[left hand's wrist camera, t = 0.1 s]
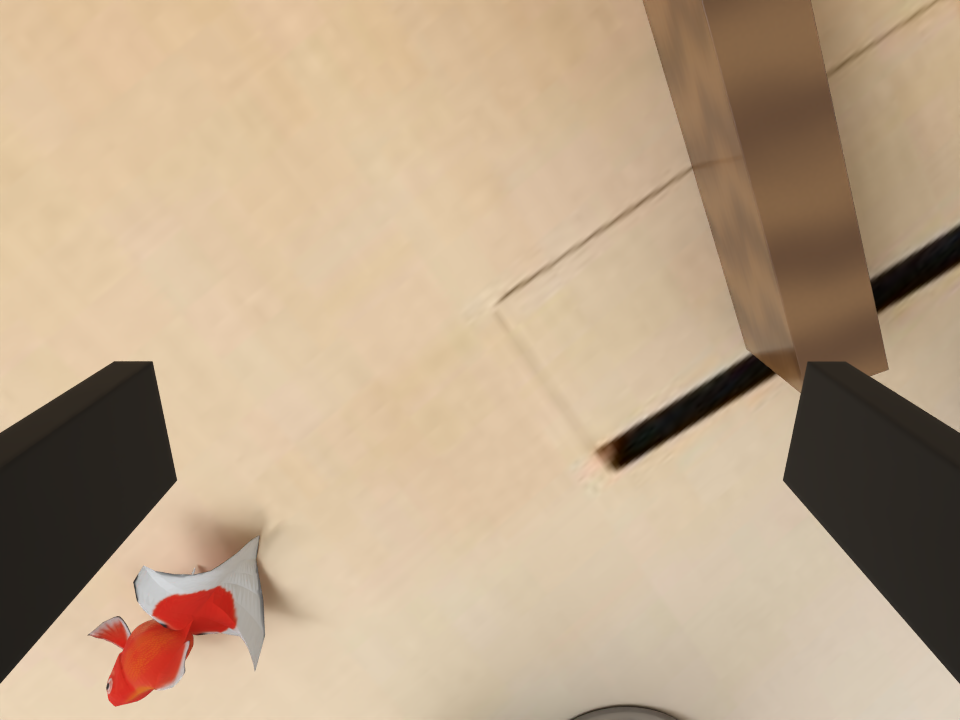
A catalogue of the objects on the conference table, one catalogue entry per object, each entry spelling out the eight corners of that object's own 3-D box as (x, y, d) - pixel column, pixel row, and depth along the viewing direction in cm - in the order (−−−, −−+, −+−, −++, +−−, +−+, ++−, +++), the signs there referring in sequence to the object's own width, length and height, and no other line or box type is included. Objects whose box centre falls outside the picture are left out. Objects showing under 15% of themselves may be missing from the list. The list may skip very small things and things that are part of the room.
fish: (25, 609, 43) (16, 726, 36) (213, 469, 47) (242, 549, 39) (132, 668, 50) (144, 777, 42) (291, 541, 53) (328, 621, 46)
